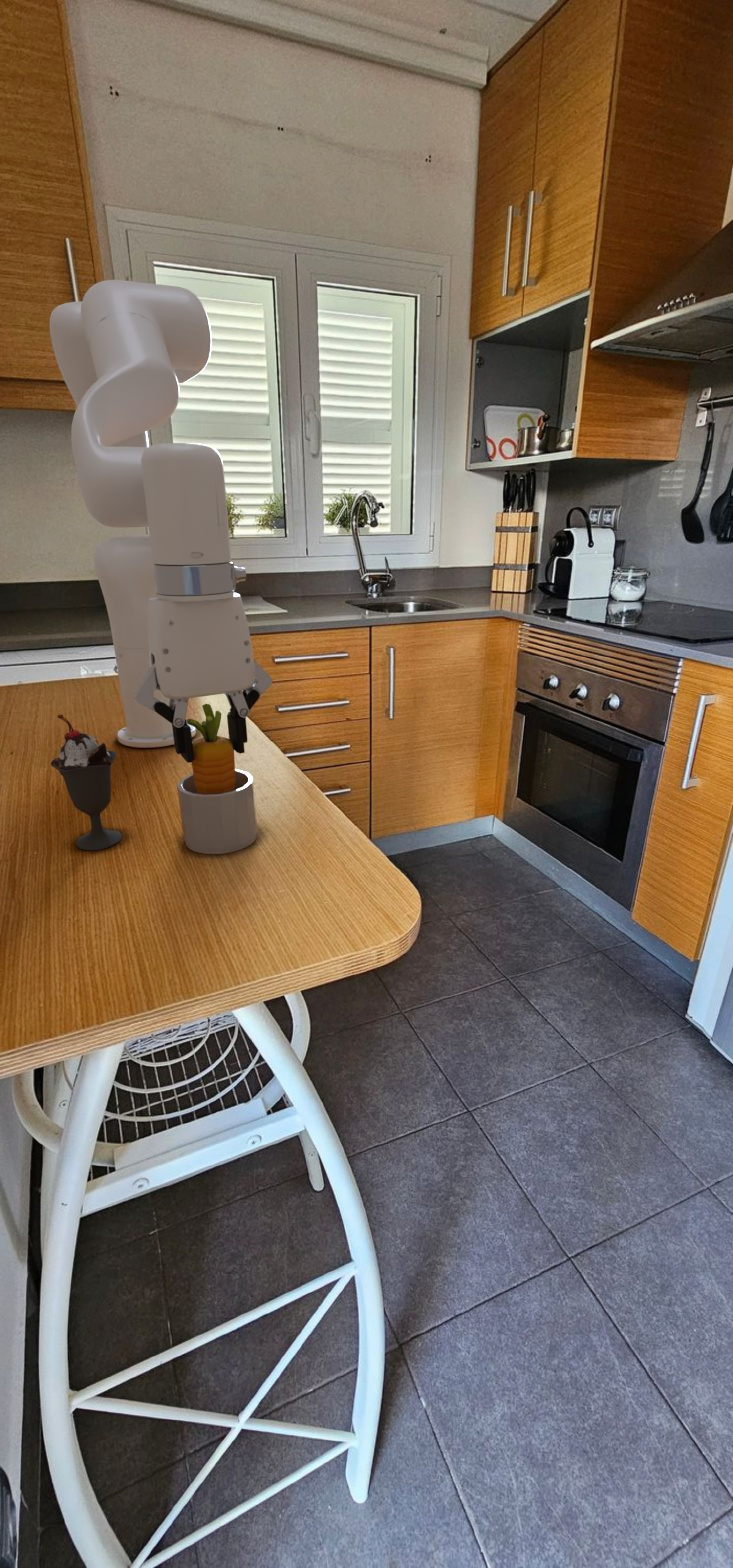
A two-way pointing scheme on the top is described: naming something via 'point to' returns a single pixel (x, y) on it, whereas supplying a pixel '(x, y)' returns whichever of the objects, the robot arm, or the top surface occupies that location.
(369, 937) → the top surface
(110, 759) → the sundae
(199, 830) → the gray cup
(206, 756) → the carrot
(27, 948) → the top surface
